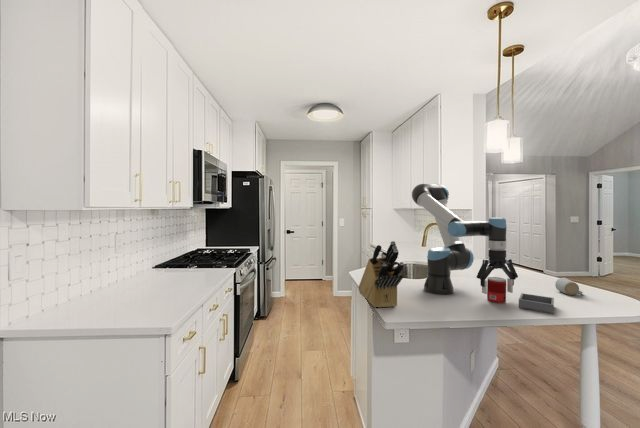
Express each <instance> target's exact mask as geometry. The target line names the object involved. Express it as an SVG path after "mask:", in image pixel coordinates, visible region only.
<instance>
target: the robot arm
mask: <svg viewBox="0 0 640 428" xmlns="http://www.w3.org/2000/svg"><path fill="white" fill-rule="evenodd" d="M449 193H450V192H449V190H448V188H447V187H446V186H445V185H443V184H439V183H435V184H434V183H433V184H432V183H431V184H430V183H420V184H417V185H416V186H414V188H413V190H412V192H411V198H412V201H413V202H414V203H415V204H416V205H417V206H418V207H422V208H424V210H426V211H427V212H429V214H431V215H432V216H433V217H434V219H435V220H434V221H435V222H436V225H437V227H438V231H439V233H440V237H441V239H442V242H443V245H444V246H438V247H436V246H435V247H432V248H429V249H428V251H427V255H426V258H427V273H426V274H427V276H426V279H425V282H424V284H423V290H424V291H425V292H427V293H430V294H436V295H451V294H454V286H453V283H452V280H451V271H463V270H467V269H469V268H471V267H472V265H473V263H474V259H475V258H474V254H473V252H472V250H470V249H469V248H467V247H466V245H465V244H464V242H462V241H460V238H463V237H476V236H477V237H488V244H487V245H488V259H485V258H483V259H482V262H481V266H480V268H479V271H478V272H477V274H476V278H477V279H479V280H480V287H481V293H482V294H485V295H487V280H486V279H488V277H489V275H490V274H491V273H492V271H494V270H499V269H501V270H502V272H504V273H505V275H506V276H507V278H506V293H507V292H508V293H510V294H513V293H514V290H513V289H514V287H513V286H514V284H515V280H516V279H517V278H519V275H518V274H517V271H516V269H515V266H514V264H513V260H512V259H511V258H507V250H506V249H507V227H508V226H507V219H506V218H505V217H489V218H488V220H487V221H482V220H481V221H480V220H470V221H464V220H462V219H461V218H460V217H459V216H458V215H456V214H454V213H453V212H452V211H451V210H450V209H448V206H447V204H448V200H449V198H450V197H449V195H450V194H449Z"/></svg>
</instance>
